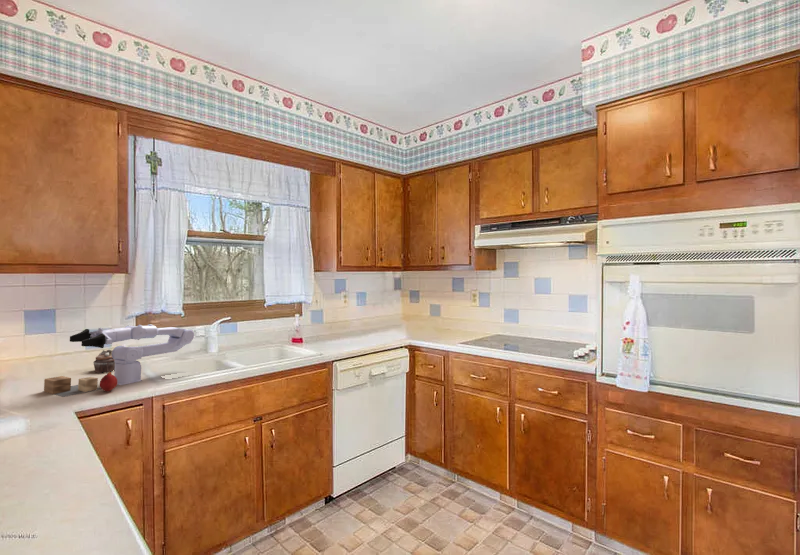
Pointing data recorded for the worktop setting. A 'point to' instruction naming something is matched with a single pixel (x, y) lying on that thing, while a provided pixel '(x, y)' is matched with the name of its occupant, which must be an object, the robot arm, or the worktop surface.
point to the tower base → (57, 389)
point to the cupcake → (104, 362)
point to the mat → (72, 391)
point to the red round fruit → (108, 382)
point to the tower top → (57, 381)
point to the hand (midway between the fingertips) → (76, 341)
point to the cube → (87, 384)
